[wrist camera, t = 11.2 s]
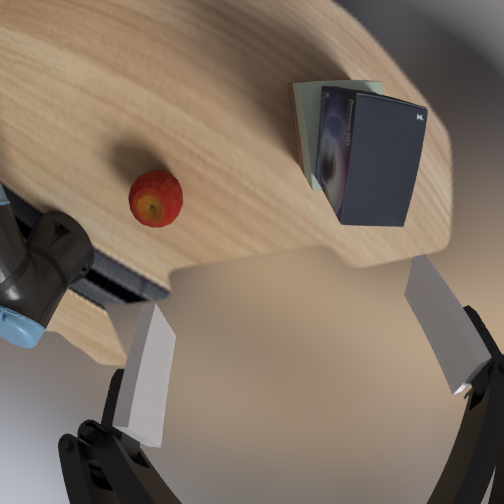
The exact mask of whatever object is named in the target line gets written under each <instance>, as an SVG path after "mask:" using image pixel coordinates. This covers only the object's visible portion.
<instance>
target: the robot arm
mask: <svg viewBox="0 0 504 504" xmlns="http://www.w3.org/2000/svg"><path fill="white" fill-rule="evenodd" d="M93 260H94V252H93V247H92V244H91V241H90V239H89V237H88V235H87V234H86V232H85V231H84V230H83V228H82V227H81V226H80V225H79V224H78V223H77V222H76V221H75V220H73V219H72V218H71V217H69V216H67V215H65V214H63V213H60V212H48V213H45V214H43V215H42V216H41V217H40V218H39V219H38V220H37V221H36V222H35V223H34V225H33V227H32V229H31V231H30V233H29V236H28V238H27V241H26V243H25V241H24V239H23V236H22V234H21V232H20V229H19V227H18V225H17V222H16V220H15V217H14V214H13V212H12V209H11V206H10V201H9V200H8V199H7V197H6V194H5V192H4V189H3V187H2V184H1V183H0V336H1V337H2V338H3V339H5V340H7V341H8V342H10V343H12V344H14V345H16V346H19V347H22V348H32V347H34V346H35V345H36V344H37V342H38V341H39V339H40V337H41V336H42V334H43V333H44V332H45V329H46V327H47V325H48V323H49V321H50V319H51V317H52V315H53V314H54V312H55V310H56V308H57V306H58V304H59V302H60V301H61V299H62V297H63V295H64V294H65V292H66V290H67V289H68V288H70V287H71V286H73V285H74V284H75V283H77V282H78V281H79V280H81V279H82V278H83V277H84V276H85V275H86V274H87V273H88V271H89V270H90V268H91V266H92V264H93ZM405 297H406V299H407V301H408V303H409V304H410V306H411V308H412V310H413V312H414V314H415V315H416V317H417V319H418V321H419V323H420V325H421V327H422V329H423V331H424V333H425V335H426V336H427V339H428V341H429V343H430V345H431V347H432V349H433V351H434V353H435V355H436V358H437V360H438V362H439V364H440V366H441V368H442V371H443V373H444V375H445V378H446V379H447V382H448V385H449V387H450V389H451V392H452V394H453V395H454V394H456V393H458V392H460V391H462V390H464V389H465V388H466V387H467V386H468V385H469V384H470V383H471V385H472V388H471V389H470V390H469V391H468V392H467V393H466V394H465V396H464V399H466V398H467V396H469V398H468V402H467V406H466V409H465V413H464V416H463V419H462V422H461V426H460V429H459V432H458V435H457V438H456V440H455V443H454V446H453V448H452V451H451V454H450V456H449V459H448V461H447V463H446V465H445V468H444V470H443V472H442V474H441V477H440V479H439V481H438V483H437V485H436V487H435V489H434V491H433V493H432V495H431V496H430V498H429V501H428V502H427V504H481V501H482V499H483V497H484V495H485V492H486V490H487V488H488V485H489V483H490V480H491V477H492V475H493V472H494V469H495V466H496V469H495V475H494V480H493V485H492V490H491V494H490V498H489V502H488V504H504V355H503V354H502V353H501V352H500V350H499V349H498V347H497V345H496V343H495V341H494V340H493V338H492V336H491V335H490V333H489V331H488V329H487V328H486V326H485V324H484V323H483V322H482V320H481V318H480V316H479V315H478V313H477V312H476V311H475V310H474V309H473V308H471V307H470V306H469V305H468V306H465V307H462V306H461V304H460V303H459V301H458V300H457V298H456V297H455V295H454V294H453V292H452V291H451V290H450V288H449V287H448V285H447V284H446V282H445V281H444V280H443V278H442V277H441V275H440V274H439V272H438V271H437V270H436V268H435V267H434V266H433V264H432V263H431V262H430V260H429V259H428V258H427V257H426V255H425V254H424V255H420V256H416V257H413V260H412V265H411V269H410V274H409V278H408V283H407V287H406V291H405ZM175 339H176V336H175V334H174V332H173V331H172V329H171V328H170V326H169V325H168V323H167V321H166V320H165V318H164V316H163V315H162V313H161V311H160V310H159V308H158V306H157V304H156V303H155V304H147V305H143V307H142V310H141V313H140V317H139V320H138V323H137V326H136V330H135V333H134V337H133V340H132V344H131V347H130V351H129V355H128V359H127V362H126V366H125V369H117V370H116V372H115V374H114V375H113V377H112V379H111V383H110V387H109V388H110V389H109V391H108V397H107V399H106V403H105V407H104V412H103V417H102V421H101V424H99V423H97V422H96V421H94V420H86V421H84V422H83V423H82V424H81V425H80V427H79V429H78V437H75V436H73V435H71V434H65V435H63V436H62V437H61V438H60V440H59V443H58V450H59V457H60V462H61V468H62V473H63V477H64V482H65V486H66V490H67V494H68V498H69V501H70V504H182V503H181V502H180V501H179V500H178V498H177V497H176V496H175V495H174V493H173V492H172V491H171V490H170V489H169V487H168V486H167V485H166V483H165V482H164V481H163V479H162V478H161V477H160V475H159V474H158V472H157V471H156V470H155V468H154V467H153V465H152V464H151V463H150V461H149V460H148V458H147V457H146V455H145V454H144V452H143V451H142V450H141V448H140V443H142V444H144V445H146V446H152V447H161V441H162V432H163V422H164V414H165V406H166V398H167V391H168V383H169V377H170V370H171V363H172V357H173V351H174V345H175Z"/></svg>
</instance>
